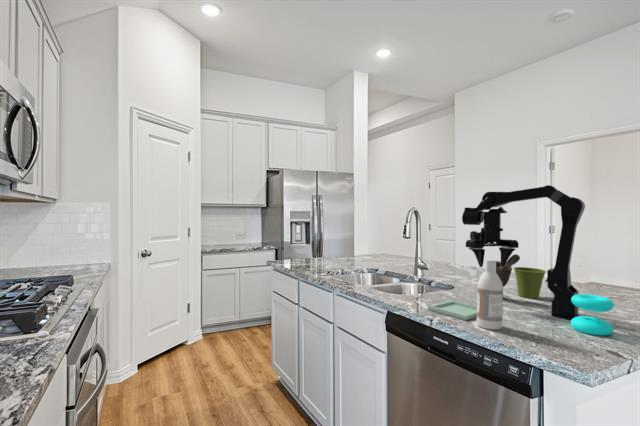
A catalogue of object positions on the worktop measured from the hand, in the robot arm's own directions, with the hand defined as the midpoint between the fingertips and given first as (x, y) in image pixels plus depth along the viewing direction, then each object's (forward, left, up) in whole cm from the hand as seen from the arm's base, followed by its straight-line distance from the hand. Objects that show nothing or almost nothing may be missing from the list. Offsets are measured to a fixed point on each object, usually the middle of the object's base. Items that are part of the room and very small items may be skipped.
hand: (491, 266), depth 135 cm
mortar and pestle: (+3, -10, -13) cm, 17 cm away
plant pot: (-3, -24, -14) cm, 28 cm away
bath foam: (-14, +28, -14) cm, 34 cm away
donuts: (-33, +6, -14) cm, 36 cm away
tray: (0, +22, -14) cm, 26 cm away
